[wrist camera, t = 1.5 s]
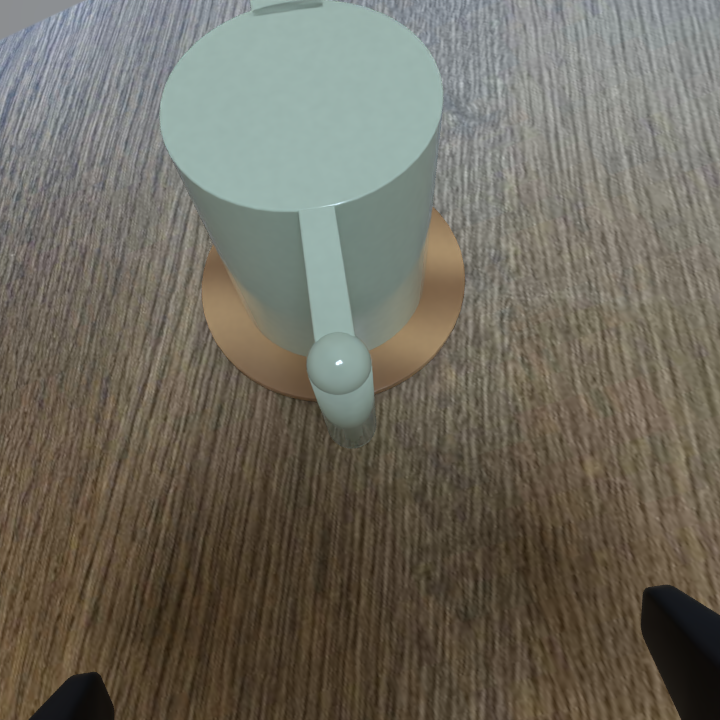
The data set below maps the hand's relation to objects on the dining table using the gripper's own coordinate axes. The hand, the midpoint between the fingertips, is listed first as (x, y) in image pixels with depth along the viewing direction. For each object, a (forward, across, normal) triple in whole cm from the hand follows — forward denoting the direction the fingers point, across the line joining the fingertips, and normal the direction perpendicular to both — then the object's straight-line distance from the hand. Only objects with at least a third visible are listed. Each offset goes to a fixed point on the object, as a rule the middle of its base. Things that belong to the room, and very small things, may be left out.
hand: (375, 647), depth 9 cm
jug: (+17, 0, -1) cm, 17 cm away
